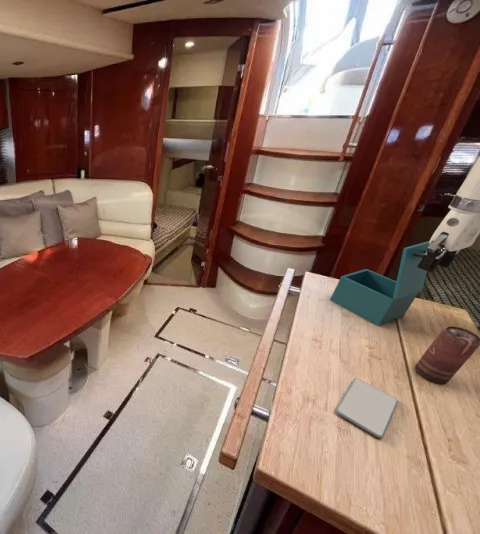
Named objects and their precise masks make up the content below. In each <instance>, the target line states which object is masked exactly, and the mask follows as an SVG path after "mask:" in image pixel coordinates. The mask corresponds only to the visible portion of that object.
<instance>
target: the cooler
mask: <svg viewBox="0 0 480 534" xmlns="http://www.w3.org/2000/svg"><path fill="white" fill-rule="evenodd" d="M396 281H397V280H394V279H391V278H389V277H387V276H384V275H383V274H381V273H377V272H375V271H373V270H370V269H367V268H365V269H361V270H358V271H355V272H352V273H348V274H344V275H342V276H340V278H339V280H338V281H337V284H336V286H335V288H334V290H333V293H332V294H331V297H330V299H329V301H331V302H332V303H334V304H336V305H338V306H340V307H342V308H343V309H345V310H347V311H349V312H351V313H353V314H355V315H356V316H359V317H360V318H362V319H364V320H366V321H368V322H370V323H371V324H373V325H375V326H377V327H380V326H382V325H384V324H387V323H390V322H392V321H395V320H398V319H400V318H404V316H405V315H406V313H407V311H408V310H409V308H411V306H412V304H413V302H414V301H415V300H416V298H417V296H418V295H419V293H420V292H421V291H419V292H416V293H413V294H411V295H408V296H405V297H402V298H399V299H397V300H395V299H393V295H394V291H395V286H396Z"/></svg>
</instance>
